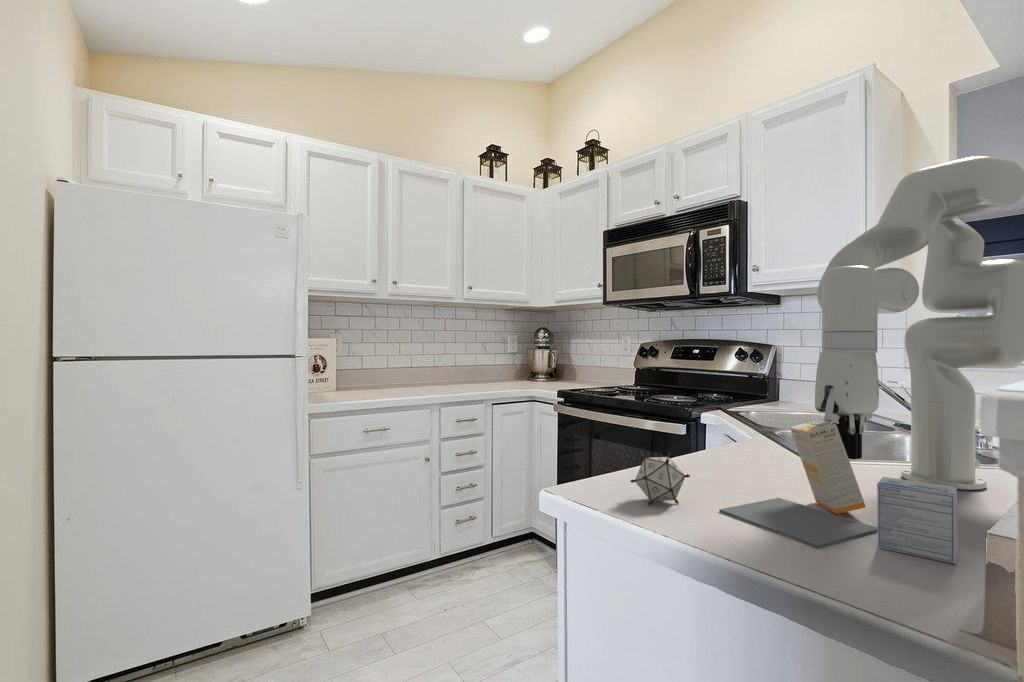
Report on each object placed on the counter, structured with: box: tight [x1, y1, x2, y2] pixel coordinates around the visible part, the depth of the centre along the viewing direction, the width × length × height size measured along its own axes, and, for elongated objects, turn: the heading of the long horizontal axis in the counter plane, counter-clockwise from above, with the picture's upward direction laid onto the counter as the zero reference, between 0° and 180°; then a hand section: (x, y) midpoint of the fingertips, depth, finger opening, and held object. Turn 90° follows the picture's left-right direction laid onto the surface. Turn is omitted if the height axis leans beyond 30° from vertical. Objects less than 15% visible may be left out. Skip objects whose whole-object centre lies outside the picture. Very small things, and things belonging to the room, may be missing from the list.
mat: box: [718, 497, 878, 549], centre depth 77 cm, size 14×16×1 cm
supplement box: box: [789, 419, 866, 515], centre depth 83 cm, size 8×5×13 cm, turn 168°
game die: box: [629, 452, 691, 506], centre depth 86 cm, size 9×8×10 cm
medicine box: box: [876, 476, 958, 565], centre depth 66 cm, size 8×4×9 cm, turn 48°
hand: (848, 457), depth 83 cm, fingers closed
